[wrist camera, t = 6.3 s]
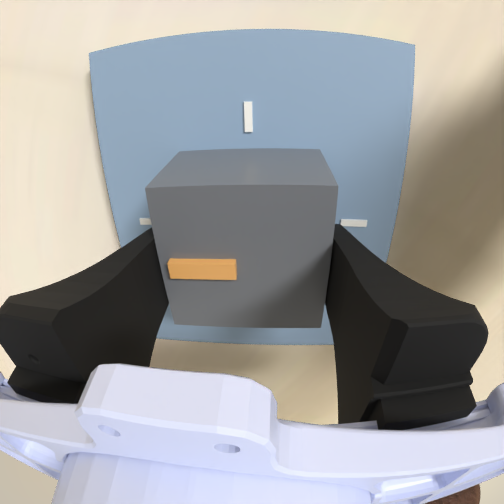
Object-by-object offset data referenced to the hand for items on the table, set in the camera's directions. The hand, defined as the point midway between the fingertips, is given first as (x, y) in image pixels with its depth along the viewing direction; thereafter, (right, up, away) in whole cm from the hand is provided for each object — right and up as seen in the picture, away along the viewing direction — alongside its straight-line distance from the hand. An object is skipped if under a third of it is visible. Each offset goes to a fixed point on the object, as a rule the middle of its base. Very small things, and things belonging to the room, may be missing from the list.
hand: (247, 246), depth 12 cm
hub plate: (0, +2, +3) cm, 3 cm away
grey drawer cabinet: (0, +2, +2) cm, 2 cm away
